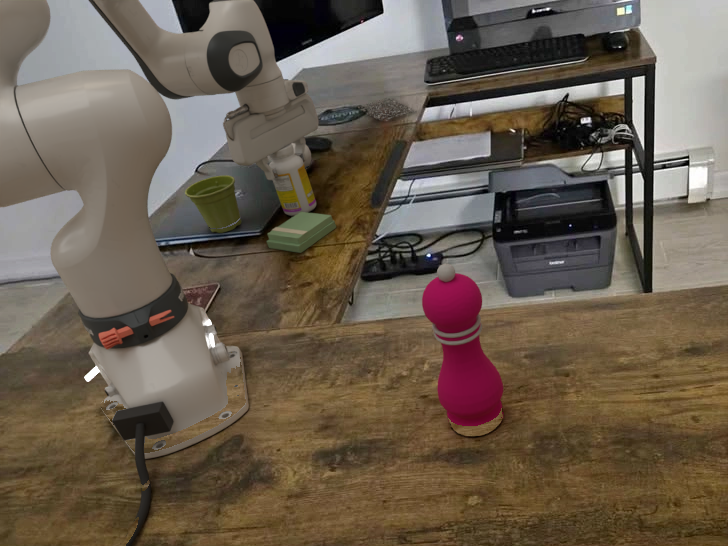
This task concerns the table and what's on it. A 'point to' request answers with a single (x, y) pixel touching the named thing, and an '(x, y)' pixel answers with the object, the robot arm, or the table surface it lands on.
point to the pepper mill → (462, 349)
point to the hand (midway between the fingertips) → (287, 170)
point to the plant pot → (216, 202)
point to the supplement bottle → (292, 182)
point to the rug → (384, 109)
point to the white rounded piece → (307, 155)
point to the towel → (300, 232)
